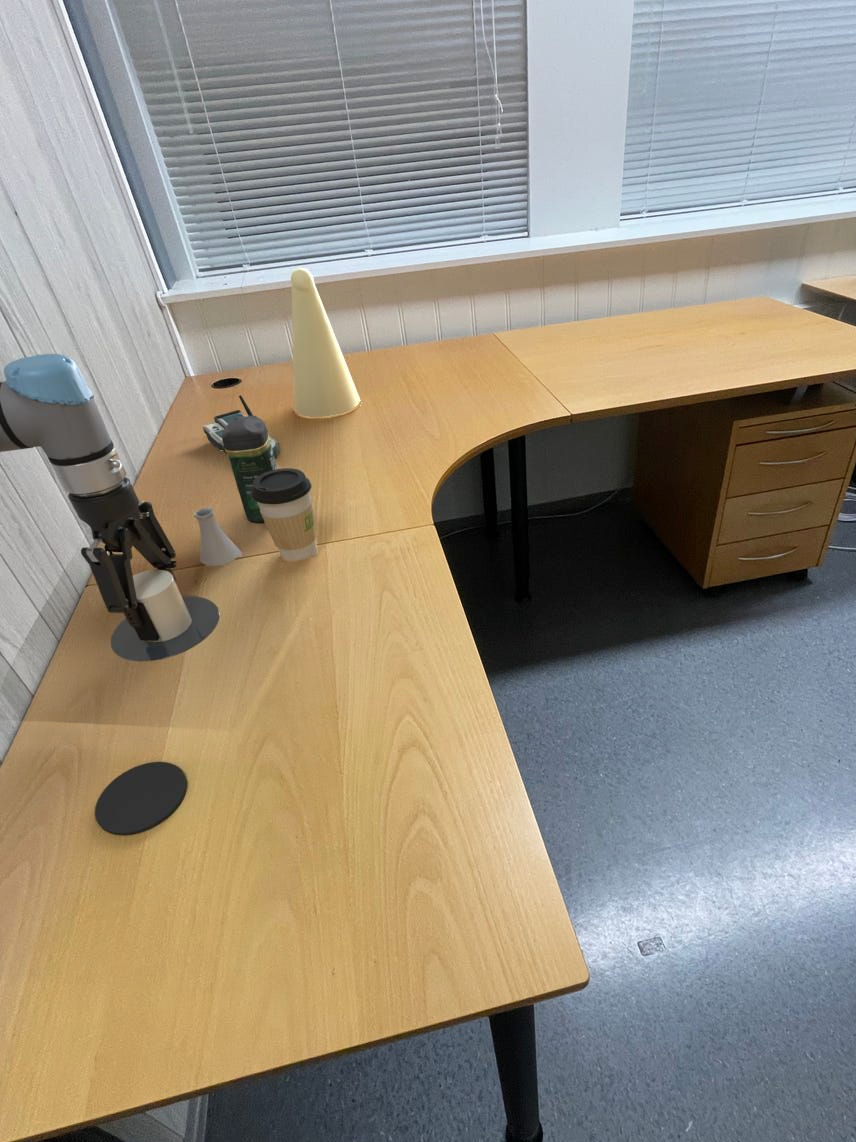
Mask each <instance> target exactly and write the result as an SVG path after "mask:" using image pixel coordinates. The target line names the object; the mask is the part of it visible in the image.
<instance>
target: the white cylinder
mask: <svg viewBox="0 0 856 1142" xmlns="http://www.w3.org/2000/svg"><path fill="white" fill-rule="evenodd" d="M133 580H134V586H135V591H136V597H137V602H138V603H143V605H144V607H145V609H146V611H147V613H148V615H149V617H150V619H151V621H152V623H153V625H154V627H155V629H156V631H157V633H158V635H159V637H160V638H159V640H158V641H149V642H162V641H167V640H170V639H173V638H175V637H177V636H179V635H181V634H182V633H183V632H185V631H186V630H187V629H188V628H189V626H190V625H191V621H192V619H191V616H190V614H189V611H188V609H187V607H186V605H185V602H184V600H183V598H182V596H183V595H182V592H181V590H180V588H179V586H178V583H177V584H176V582H175V580H174V578H173V575H172V574H171V573H170V572H168V571H165V570H158V569H148V570H145V571H141V572H139V573H136V574H133ZM177 586H178V587H177ZM178 588H179V589H178ZM179 590H180V591H179ZM180 592H181V593H180ZM181 595H182V596H181ZM126 600H127V599H126Z"/></svg>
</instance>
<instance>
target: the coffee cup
mask: <svg viewBox="0 0 856 1142" xmlns="http://www.w3.org/2000/svg"><path fill="white" fill-rule="evenodd" d="M311 490H312V482H311V480H310V479H309V478H308V477H307V476H306V474H305V473H304V471H302V470H300V469H297V468H292V467H290V468H289V467H288V468H287V467H286V468H284V467H283V468H277V469H276V470H271V471H268V472H265V473H263V474H261V475H259V476H258V477H257V478H255V480H254V481H253V488H252V491H251V493H252V498H253V499H254V500H255V501H256V502H257V503H258V506H259V508H260V513H261V515H262V517H263V519H264V522H263V523H264V524H265V526H266V529H267V530H268V533H269V535H270V538H271V539H272V541H273V544H274V546H275V547H276V548H277V551H278V553H279V555H280V557H281V559H283V560H285V561H288V562H300V561H304V560H307V559H309V558H310V559H311V558H313V559H314V558H315V557H316V556H317V557H318V554H317V553H318V547H317V539H316V538H317V532H316V522H315V515H314V506H313V500H312V498H311V497H312V496H311ZM317 557H316V558H317ZM316 558H315V559H316Z"/></svg>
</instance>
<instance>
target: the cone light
mask: <svg viewBox="0 0 856 1142" xmlns="http://www.w3.org/2000/svg"><path fill="white" fill-rule="evenodd" d="M290 283H291V323H292V324H291V326H292V328H291V329H292V331H291V332H292V335H291V336H292V378H293V379H292V381H293V384H292V385H293V412H294V411H295V412H296V413H298V414H300V415H303V416H309V417H323V416H330V415H336V414H341V413H344V412H347V411H349V410H351V409H353V408H354V407H356V406H357V405H358V404H359V402H360V401H361V399H360V396H359V393H358V391H357V388H356V386H355V383H354V381H353V378H352V376H351V373H350V371H349V368H348V365H347V363H346V361H345V358H344V355H343V352H342V350H341V348H340V344H339V342H338V340H337V337H336V334H335V332H334V330H333V328H332V324H331V322H330V319H329V317H328V315H327V313H326V309H325V307H324V304H323V302H322V300H321V297H320V295H319V291H318V289H317V287H316V284H315V279H314V276H313V275H312V273H311V272H310V270H308V269H307V268H303V267H298V268H296V269H295V270H293V271H292V273H291V275H290Z"/></svg>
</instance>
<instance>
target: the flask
mask: <svg viewBox="0 0 856 1142" xmlns="http://www.w3.org/2000/svg"><path fill="white" fill-rule="evenodd" d="M193 517H194V518H195V519H196V520H197V523H198V527H199V532H200V550H199V563H201V564H203V565H205V566H206V567H221V566H225V565H227V564H229V563H231V562H232V561H234V560H236V559H237V558H238V557H243V555H244V554H243V552H242V551H241V550H240V549H239V548H238V546H237V545H236V544H235V543H234V542H233V541H232V540H231V539H230V538H229V537H228V536H227V534H226V532H224V530H223V529H222V528H221V526H220V525H219V523H218V521H217V520H216V517H215V509H214V508H211V507H202V508H199V509H197V510H196V511H194V513H193Z"/></svg>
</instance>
